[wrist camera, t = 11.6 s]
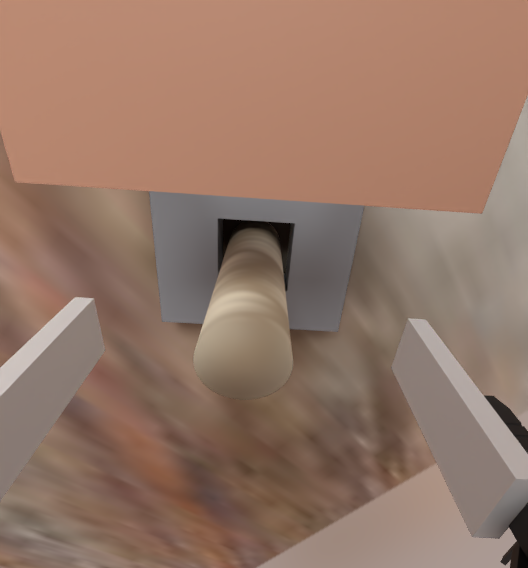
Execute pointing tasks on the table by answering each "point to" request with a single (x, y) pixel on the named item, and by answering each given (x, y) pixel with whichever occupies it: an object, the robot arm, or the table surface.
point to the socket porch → (264, 120)
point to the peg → (247, 319)
